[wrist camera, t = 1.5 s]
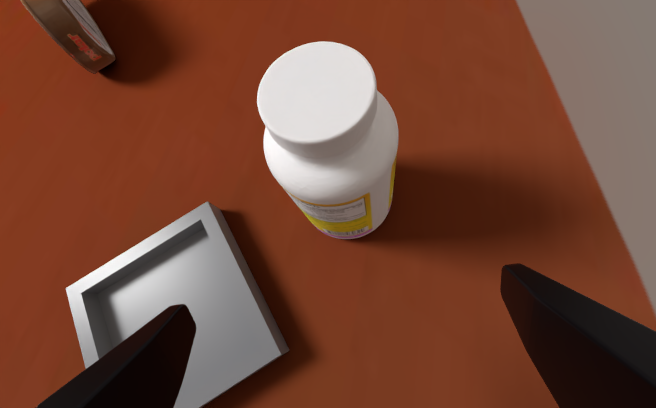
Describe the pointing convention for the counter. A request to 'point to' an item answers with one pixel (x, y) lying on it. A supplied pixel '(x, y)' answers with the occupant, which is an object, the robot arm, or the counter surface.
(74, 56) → the tin
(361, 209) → the supplement bottle
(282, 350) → the tray
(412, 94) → the counter surface
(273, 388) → the counter surface
